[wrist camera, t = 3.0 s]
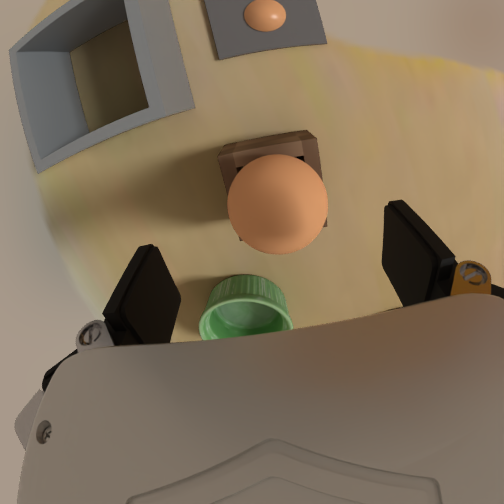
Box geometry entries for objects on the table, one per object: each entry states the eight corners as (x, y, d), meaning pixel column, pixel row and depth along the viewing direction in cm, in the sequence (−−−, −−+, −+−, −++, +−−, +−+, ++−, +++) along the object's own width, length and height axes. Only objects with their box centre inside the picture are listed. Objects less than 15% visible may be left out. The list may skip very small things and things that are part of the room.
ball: (311, 139, 17) (333, 160, 12) (321, 218, 20) (341, 265, 15) (223, 155, 18) (207, 183, 13) (242, 231, 21) (237, 282, 16)
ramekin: (304, 310, 30) (309, 341, 26) (238, 339, 33) (236, 369, 29) (259, 253, 26) (259, 283, 22) (188, 292, 29) (179, 322, 25)
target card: (308, -20, 12) (309, -21, 12) (326, 44, 16) (327, 43, 15) (203, -4, 13) (202, -5, 13) (220, 59, 17) (219, 59, 16)
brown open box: (306, 130, 19) (316, 138, 16) (317, 204, 23) (327, 226, 19) (224, 145, 20) (217, 156, 17) (243, 217, 24) (240, 241, 20)
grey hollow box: (167, -5, 13) (131, -34, 7) (195, 107, 19) (166, 116, 13) (61, 49, 15) (8, 50, 9) (86, 148, 20) (37, 173, 14)
